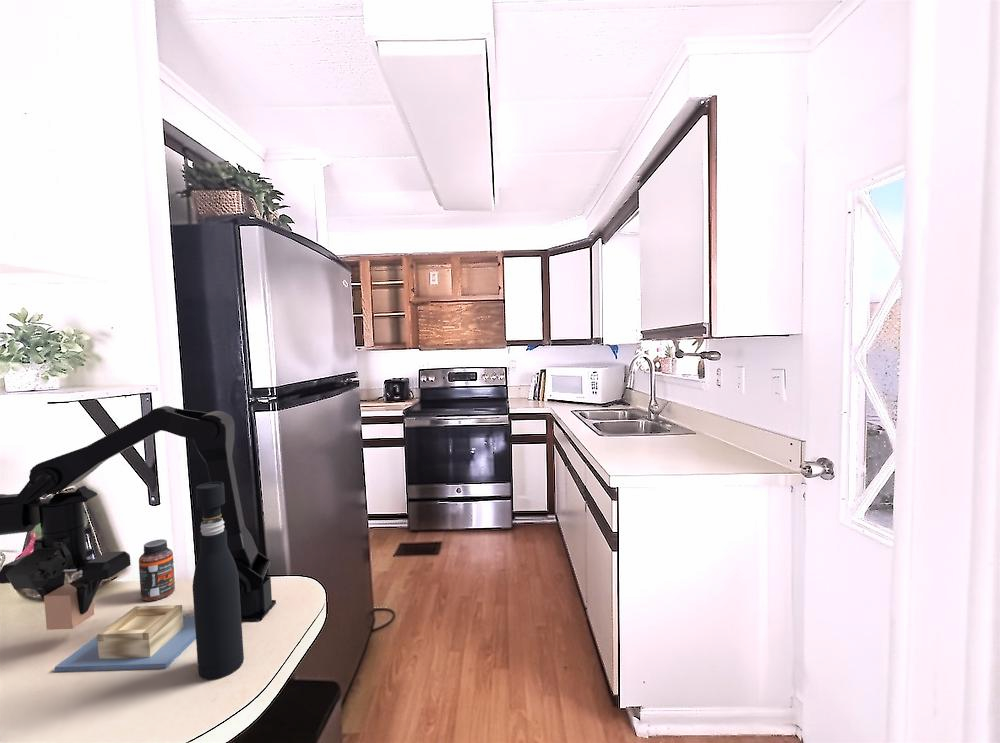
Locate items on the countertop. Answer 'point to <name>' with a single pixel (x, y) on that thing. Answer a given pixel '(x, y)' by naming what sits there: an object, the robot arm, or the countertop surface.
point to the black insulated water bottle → (216, 591)
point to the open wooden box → (140, 632)
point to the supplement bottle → (156, 571)
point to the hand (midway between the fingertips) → (70, 613)
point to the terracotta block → (64, 608)
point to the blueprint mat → (162, 658)
